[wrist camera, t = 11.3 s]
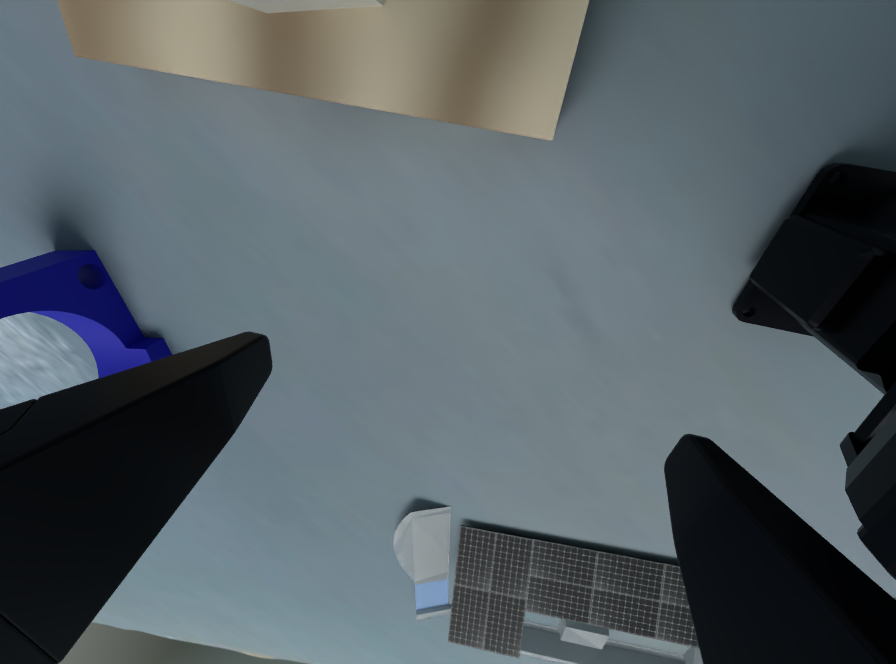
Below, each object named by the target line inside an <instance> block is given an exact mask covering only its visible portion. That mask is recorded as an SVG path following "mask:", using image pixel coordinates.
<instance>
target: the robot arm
mask: <svg viewBox="0 0 896 664" xmlns="http://www.w3.org/2000/svg"><path fill="white" fill-rule="evenodd" d="M838 172H839V173H840V176H839V179H838V180H837V181H836V182H835V183H832V184H830V179H831V177H832V176H833V175H834V174H836V173H838ZM748 307H752V308H751V310H750V311H749V312H746V313H743V311H744V310H745V309H746V308H748ZM732 313H733V314H734V315H735V316H736V317H737V318H738V320H740V321H742V322H746V323H751V324H756V325H761V326H766V327H770V328H775V329H780V330H785V331H790V332H795V333H799V334H804V335H809V336H814V337H815V338H816V339H818V340H819V341H820V342H821V343H822V344H824V345H825V346H826V347H827V348H829V349H830V350H831V351H832V352H833V353H835V354H836V355H837V356H838V357H839V358H841V359H842V360H843V361H844V362H845V363H847V364H848V365H849V366H850V367H852V368H853V369H854V370H855V371H856V372H858V373H859V374H860V375H861V376H862V377H864V378H865V379H866V380H867V381H869V382H870V383H871V384H872V385H873V386H875V387H876V388H877V389H878V390H879V391H881V392H882V393H883V394H884V396H883V398H882V399H881V400H880V401H879V403H878V404H877V405H876V406H875V408H874V409H873V410H872V411H871V413H870V414H869V415H868V416H867V418H866V419H865V420H864V421H863V422H862V424H861V425H860V426H859V427H858V429H857V430H856V431H855V432H850V433H848V434H847V436H846V437H845V438H844V439H843V441H842V442H841V443H840V448H841V450H842V453H843V456H844V458H845V461H846V464H847V466H848V468H847V471H846V484H845V491H846V493H847V495H848V497H849V499H850V502H851V504H852V506H853V508H854V510H855V512H856V514H857V517H858V519H859V520H860V522H861V523H862V526H861V527H860V528H859V529H858V532H857V534H858V536H859V538H860V540H861V541H862V542H863V544H864V545H865V546H866V547H867V549H868V550H869V551H870V552H871V553H872V554H873V556H874V557H875V558H876V559H877V560H878V561H879V563H880V564H881V565H882V566H883V567H884V568H885V570H886V571H887V572H888V573H889V574H890V575H891V576H892V577H893V578H894V579H895V580H896V172H892V171H886V170H880V169H875V168H869V167H863V166H857V165H851V164H846V163H832V164H830V165H827V166H826V167H824V168H823V169H821V170H820V171H819V173H818V174H817V175H816V177H815V178H814V180H813V181H812V183H811V184H810V186H809V188H808V189H807V191H806V192H805V194H804V195H803V197H802V199H801V200H800V202H799V203H798V205H797V206H796V208H795V210H794V211H793V213H792V214H791V216H790V217H789V218H788V219H786V220H785V221H784V223H783V224H782V226H781V227H780V229H779V231H778V232H777V234H776V235H775V237H774V238H773V240H772V242H771V243H770V245H769V246H768V248H767V250H766V251H765V253H764V254H763V256H762V257H761V259H760V261H759V262H758V264H757V265H756V267H755V269H754V270H753V272H752V273H751V275H750V280H749V282H748V284H747V285H746V287H745V288H744V290H743V291H742V293H741V295H740V296H739V298H738V299H737V301H736V302H735V304H734V306H733V308H732ZM271 371H272V358H271V350H270V343H269V339H268V337H267V336H265V335H263V334H259V333H254V332H244V333H241V334H238V335H235V336H232V337H228V338H225V339H222V340H219V341H216V342H213V343H209V344H206V345H203V346H200V347H197V348H194V349H190V350H187V351H184V352H181V353H178V354H175V355H171V356H168V357H165V358H162V359H159V360H156V361H152V362H149V363H146V364H143V365H140V366H137V367H133V368H130V369H127V370H124V371H121V372H118V373H115V374H111V375H108V376H105V377H102V378H99V379H96V380H92V381H89V382H86V383H83V384H80V385H77V386H73V387H70V388H67V389H64V390H61V391H58V392H54V393H51V394H48V395H45V396H42V397H40V398H38V400H36V399H32V400H29V401H26V402H22V403H19V404H16V405H13V406H10V407H7V408H4V409H0V664H58V663H59V662H61V661H62V660H63V659H64V657H65V656H66V655H67V653H68V652H69V651H70V649H71V648H72V647H73V645H74V644H75V643H76V642H77V640H78V639H79V638H80V636H81V635H82V634H83V632H84V631H85V630H86V628H87V627H88V626H89V624H90V623H91V622H92V620H93V619H94V618H95V617H96V615H97V614H98V613H99V611H100V610H101V609H102V607H103V606H104V605H105V603H106V602H107V601H108V599H109V598H110V597H111V595H112V594H113V593H114V591H115V590H116V589H117V588H118V586H119V585H120V584H121V582H122V581H123V580H124V578H125V577H126V576H127V574H128V573H129V572H130V570H131V569H132V568H133V566H134V565H135V564H136V562H137V561H138V560H139V558H140V557H141V556H142V555H143V553H144V552H145V551H146V549H147V548H148V547H149V545H150V544H151V543H152V541H153V540H154V539H155V537H156V536H157V535H158V533H159V532H160V531H161V529H162V528H163V527H164V526H165V524H166V523H167V522H168V520H169V519H170V518H171V516H172V515H173V514H174V512H175V511H176V510H177V508H178V507H179V506H180V504H181V503H182V502H183V500H184V499H185V498H186V496H187V495H188V494H189V493H190V491H191V490H192V489H193V487H194V486H195V485H196V483H197V482H198V481H199V479H200V478H201V477H202V475H203V474H204V473H205V471H206V470H207V469H208V467H209V466H210V465H211V464H212V462H213V461H214V460H215V458H216V457H217V456H218V454H219V453H220V452H221V450H222V449H223V448H224V446H225V445H226V444H227V442H228V441H229V440H230V438H231V437H232V436H233V434H234V433H235V431H236V430H237V428H238V427H239V425H240V424H241V422H242V421H243V419H244V417H245V416H246V414H247V412H248V411H249V409H250V407H251V406H252V404H253V402H254V401H255V399H256V397H257V396H258V394H259V392H260V391H261V389H262V387H263V386H264V384H265V382H266V381H267V379H268V377H269V376H270V374H271ZM664 472H665V480H666V487H667V495H668V502H669V510H670V518H671V525H672V533H673V539H674V544H675V549H676V554H677V558H678V562H679V566H680V571H681V575H682V579H683V583H684V587H685V591H686V595H687V599H688V604H689V608H690V612H691V616H692V620H693V624H694V628H695V633H696V637H697V641H698V645H699V649H700V653H701V657H702V662H703V664H896V600H895V599H894V598H892V597H891V596H890V595H889V594H888V593H887V592H886V591H884V590H883V589H882V588H881V587H880V586H879V585H877V584H876V583H875V582H874V581H873V580H872V579H871V578H869V577H868V576H867V575H866V574H865V573H864V572H862V571H861V570H860V569H859V568H858V567H857V566H856V565H854V564H853V563H852V562H851V561H850V560H849V559H848V558H846V557H845V556H844V555H843V554H842V553H841V552H839V551H838V550H837V549H836V548H835V547H834V546H833V545H831V544H830V543H829V542H828V541H827V540H826V539H824V538H823V537H822V536H821V535H820V534H819V533H818V532H816V531H815V530H814V529H813V528H812V527H811V526H809V525H808V524H807V523H806V522H805V521H804V520H803V519H801V518H800V517H799V516H798V515H797V514H796V513H795V512H793V511H792V510H791V509H790V508H789V507H788V506H786V505H785V504H784V503H783V502H782V501H781V500H780V499H778V498H777V497H776V496H775V495H774V494H773V493H771V492H770V491H769V490H768V489H767V488H766V487H765V486H763V485H762V484H761V483H760V482H759V481H758V480H757V479H755V478H754V477H753V476H752V475H751V474H750V473H748V472H747V471H746V470H745V469H744V468H743V467H742V466H740V465H739V464H738V463H737V462H736V461H735V460H734V459H732V458H731V457H730V456H729V455H728V454H727V453H725V452H724V451H723V450H722V449H721V448H720V447H719V446H717V445H716V444H715V443H714V442H713V441H712V440H710V439H708V438H706V437H702V436H697V435H693V434H686V435H684V436H682V438H681V439H680V440H679V442H678V443H677V445H676V446H675V447H674V449H673V450H672V452H671V453H670V454H669V456H668V457H667V459H666V462H665V466H664Z"/></svg>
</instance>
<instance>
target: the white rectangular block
mask: <svg viewBox="0 0 896 664" xmlns="http://www.w3.org/2000/svg"><path fill="white" fill-rule="evenodd" d="M229 1H232V2H235V3H238V4H241V5H244V6H247V7H250V8H253V9H256V10H259V11H262V12H265V13H280V12H296V11H312V10H328V9H344V8H360V7H376V6H384V0H229Z"/></svg>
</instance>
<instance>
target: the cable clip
mask: <svg viewBox="0 0 896 664" xmlns="http://www.w3.org/2000/svg"><path fill="white" fill-rule="evenodd" d="M26 312H33V313H37V314H41V315H44V316H47V317H50V318H53V319H55V320H57V321H59V322H61V323H63V324H65V325H66V326H68V327H69V328H71V329H72V330H74V331H75V332H76V333H77V334H78V335H79V336H80V337H81V338H82V339H83V340H84V341H85V342H86V343H87V345H88V346H89V348H90V349H91V351H92V353H93V355H94V357H95V360H96V363H97V368H98V375H99V378H102V377H105V376H108V375H111V374H115V373H118V372H121V371H124V370H127V369H130V368H133V367H137V366H140V365H143V364H146V363H149V362H152V361H156V360H159V359H162V358H165V357H168V356H171V355H172V354H171V352H170V350H169V348H168V346H167V344H166V343H165V341H164V339H163V338H148V337H144V336H143V334H142V332H141V331H140V329H139V327H138V325H137V324H136V322H135V320H134V318H133V317H132V315H131V313H130V311H129V310H128V308H127V306H126V304H125V303H124V301H123V299H122V297H121V296H120V294H119V292H118V290H117V289H116V287H115V285H114V283H113V282H112V280H111V278H110V276H109V275H108V273H107V271H106V269H105V268H104V266H103V264H102V262H101V260H100V259H99V257H98V255H97V253H96V252H95V250H80V251H53V252H49V253H46V254H43V255H40V256H37V257H33V258H30V259H27V260H24V261H21V262H18V263H14V264H11V265H8V266H5V267H2V268H0V319H1V318H4V317H8V316H11V315H15V314H20V313H26Z"/></svg>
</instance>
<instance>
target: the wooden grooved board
mask: <svg viewBox="0 0 896 664" xmlns="http://www.w3.org/2000/svg"><path fill="white" fill-rule="evenodd" d="M57 1H58V4H59V7H60V11H61V14H62V17H63V20H64V23H65V26H66V29H67V32H68V35H69V39H70V42H71V45H72V48H73V51H74V54H75V56H77V57H82V58H88V59H94V60H99V61H105V62H111V63H116V64H122V65H127V66H133V67H139V68H144V69H150V70H156V71H161V72H167V73H173V74H178V75H184V76H190V77H195V78H201V79H206V80H212V81H218V82H223V83H229V84H235V85H240V86H246V87H252V88H257V89H263V90H268V91H274V92H280V93H285V94H291V95H297V96H302V97H308V98H314V99H319V100H325V101H330V102H336V103H342V104H347V105H353V106H359V107H364V108H370V109H376V110H381V111H387V112H392V113H398V114H404V115H409V116H415V117H421V118H426V119H432V120H438V121H443V122H449V123H454V124H460V125H466V126H471V127H477V128H483V129H488V130H494V131H500V132H505V133H511V134H516V135H522V136H528V137H533V138H539V139H545V140H550V141H552V140H553V137H554V133H555V129H556V125H557V121H558V118H559V114H560V110H561V106H562V102H563V99H564V95H565V91H566V87H567V83H568V80H569V76H570V72H571V68H572V65H573V61H574V57H575V53H576V49H577V46H578V42H579V38H580V34H581V30H582V27H583V23H584V19H585V15H586V11H587V8H588V4H589V0H384V6H376V7H360V8H344V9H328V10H312V11H296V12H280V13H265V12H262V11H259V10H256V9H253V8H250V7H247V6H244V5H241V4H238V3H235V2H232V1H229V0H57Z"/></svg>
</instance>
